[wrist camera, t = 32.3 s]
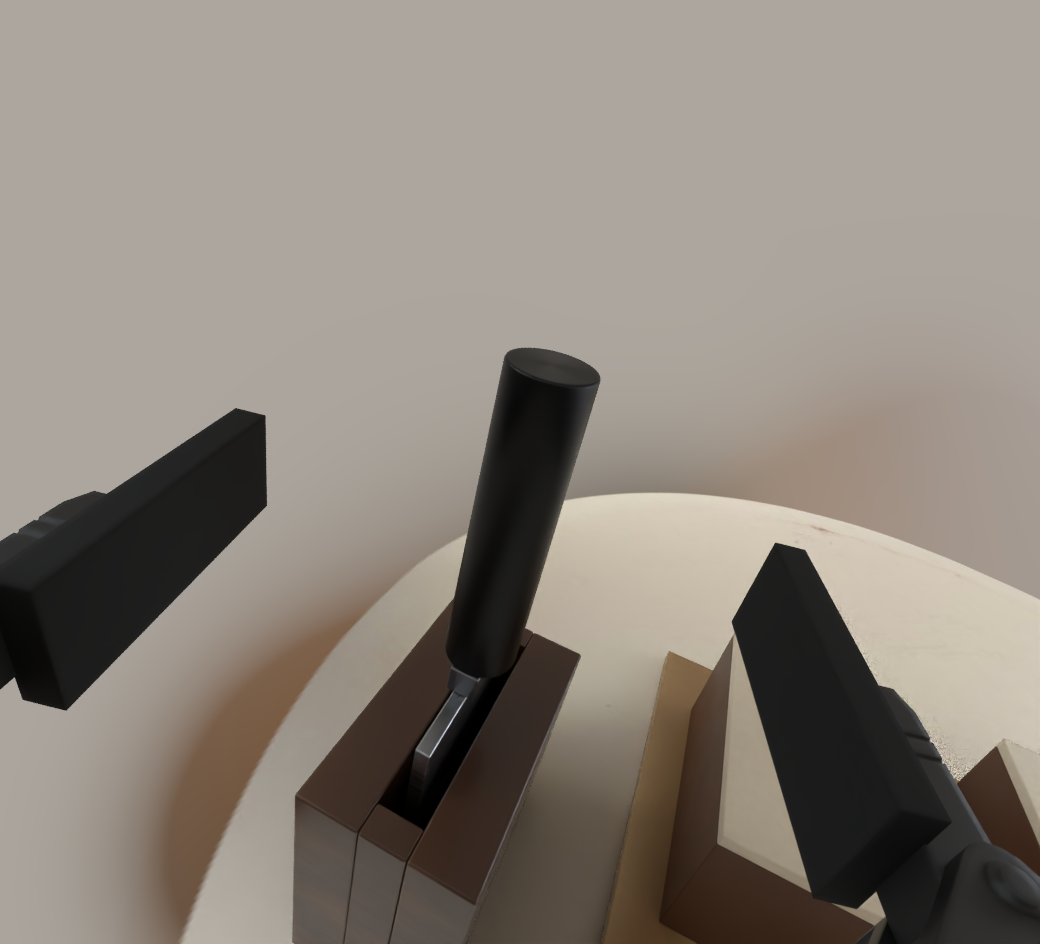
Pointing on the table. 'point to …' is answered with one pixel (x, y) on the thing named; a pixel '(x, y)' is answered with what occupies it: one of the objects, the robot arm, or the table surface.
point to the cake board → (654, 813)
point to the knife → (504, 551)
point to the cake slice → (1008, 800)
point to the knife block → (382, 793)
